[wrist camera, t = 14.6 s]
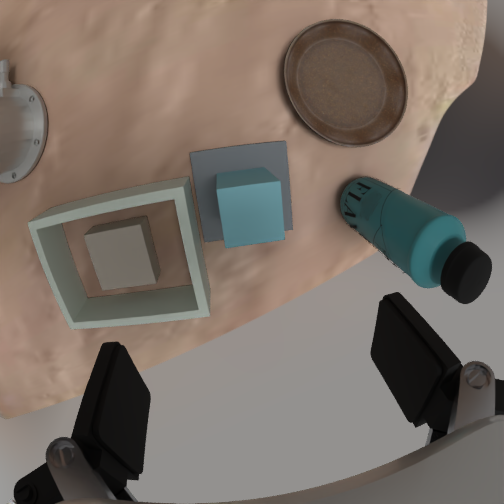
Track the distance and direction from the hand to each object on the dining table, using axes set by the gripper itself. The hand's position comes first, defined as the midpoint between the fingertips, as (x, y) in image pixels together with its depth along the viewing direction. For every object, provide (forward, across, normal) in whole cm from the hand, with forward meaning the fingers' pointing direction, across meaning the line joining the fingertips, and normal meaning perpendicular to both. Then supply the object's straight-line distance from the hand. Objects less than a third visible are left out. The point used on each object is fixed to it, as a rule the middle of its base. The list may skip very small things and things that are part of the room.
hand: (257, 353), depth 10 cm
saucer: (+24, -14, -11) cm, 30 cm away
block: (+23, -2, 0) cm, 23 cm away
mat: (+23, -2, 0) cm, 23 cm away
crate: (+24, +13, +4) cm, 27 cm away
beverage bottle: (+23, -15, +3) cm, 28 cm away
